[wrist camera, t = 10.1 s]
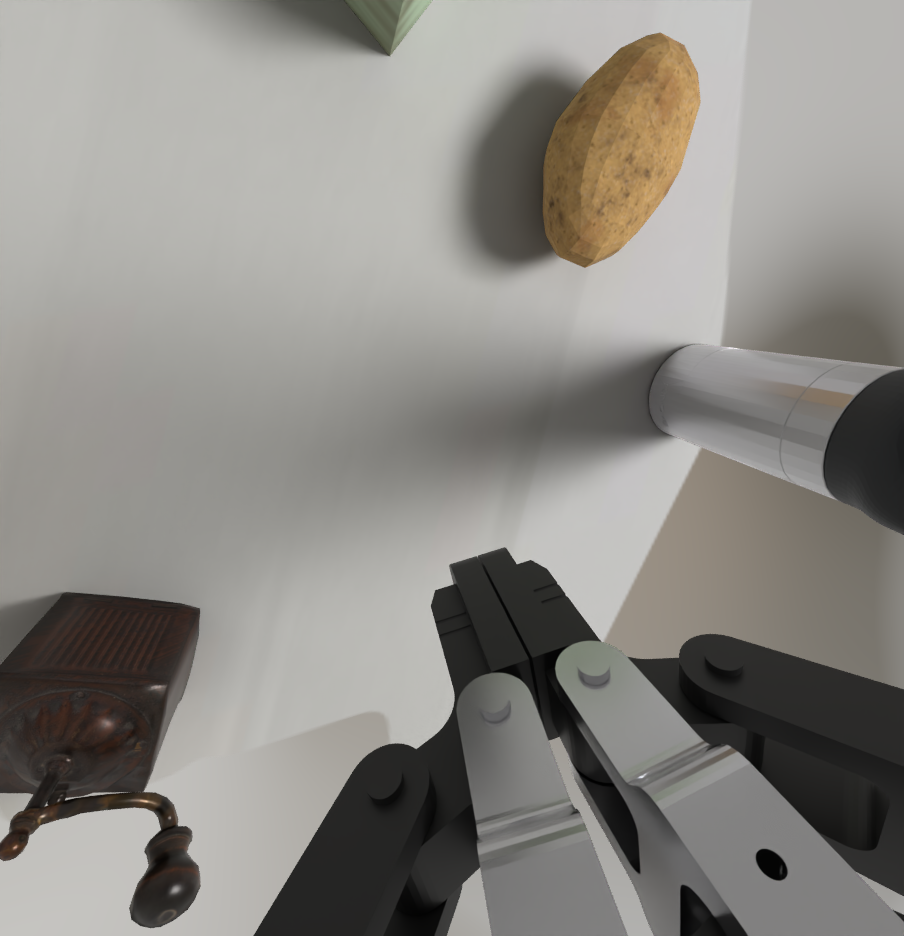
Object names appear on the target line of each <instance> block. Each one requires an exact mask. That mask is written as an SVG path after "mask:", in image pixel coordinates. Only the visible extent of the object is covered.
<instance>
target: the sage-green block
mask: <svg viewBox="0 0 904 936" xmlns="http://www.w3.org/2000/svg"><path fill="white" fill-rule="evenodd" d="M344 1H345V2H346V3H347V4H348V6H349V7H350V8H351V9H352V11H353V12H354V13H355V14H356V15H357V17H358V18H359V19H360V20H361V22H362V23H363V24H364V25H365V27H366V28H367V29H368V30H369V32H370V33H371V34H372V35H373V36H374V38H375V39H376V40H377V41H378V43H379V44H380V45H381V46H382V48H383V49H384V50H385V51H386V52H387V54H388V55H389V56H390V55H391V54H392V53H393V51H394V50H395V49H396V47H397V46H398V45H399V44H400V42H401V41H402V40H403V38H404V37H405V36H406V34H407V33H408V32H409V30H410V29H411V28H412V27H413V25H414V24H415V23H416V21H417V20H418V19H419V17H420V16H421V15H422V13H423V12H424V11H425V10H426V8H427V7H428V6H429V4H430V3H431V2H432V0H344Z"/></svg>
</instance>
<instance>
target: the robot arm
mask: <svg viewBox="0 0 904 936" xmlns="http://www.w3.org/2000/svg"><path fill="white" fill-rule="evenodd" d="M649 408H650V414H651V416H652V419H653V421H654V423H655V424H656V425H657V427H658V428H659V429H661V430H662V431H663V432H665V433H667V434H670V435H672V436H675V437H677V438H680V439H682V440H685V441H687V442H690V443H692V444H694V445H697V446H699V447H702V448H705V449H707V450H710V451H712V452H715V453H717V454H720V455H723V456H725V457H728V458H730V459H733V460H735V461H738V462H740V463H743V464H745V465H748V466H751V467H753V468H756V469H758V470H761V471H763V472H766V473H768V474H771V475H774V476H776V477H779V478H781V479H784V480H786V481H789V482H791V483H794V484H797V485H799V486H802V487H805V488H807V489H810V490H812V491H815V492H817V493H820V494H823V495H825V496H828V497H830V498H833V499H835V500H838V501H841V502H843V503H845V504H848V505H851V506H853V507H855V508H858V509H860V510H861V511H863V512H864V513H865V514H866V515H868V516H869V517H870V518H872V519H873V520H875V521H876V522H878V523H880V524H881V525H883V526H885V527H888V528H890V529H892V530H894V531H896V532H898V533H901V534H903V535H904V368H900V367H892V366H883V365H873V364H866V363H856V362H847V361H838V360H830V359H821V358H813V357H805V356H796V355H788V354H779V353H771V352H762V351H754V350H745V349H738V348H730V347H721V346H713V345H704V344H694V345H690V346H686V347H684V348H682V349H680V350H678V351H676V352H675V353H674V354H673V355H671V356H670V357H669V358H668V359H667V360H666V361H665V362H664V363H663V365H662V366H661V367H660V369H659V370H658V372H657V374H656V376H655V378H654V380H653V383H652V386H651V390H650V394H649ZM449 567H450V571H451V575H452V579H453V583H454V585H451V586H448V587H444V588H441V589H438V590H435V593H434V597H433V601H432V604H431V609H432V612H433V616H434V619H435V623H436V627H437V630H438V634H439V638H440V641H441V645H442V648H443V652H444V656H445V659H446V663H447V667H448V670H449V674H450V677H451V681H452V685H453V688H454V694H455V702H454V707H453V710H452V713H451V715H450V717H449V719H448V721H447V722H446V724H445V725H444V727H443V728H442V729H441V730H440V731H439V732H438V733H437V734H436V735H434V736H433V737H432V738H431V739H429V740H428V741H427V742H425V743H424V744H423V745H421V746H420V747H419V748H417V749H415V748H413V747H411V746H409V745H405V744H396V743H395V744H388V745H385V746H382V747H380V748H378V749H376V750H374V751H373V752H371V753H370V754H368V755H367V756H366V757H365V758H364V759H363V760H362V761H361V762H360V763H359V764H358V765H357V766H356V768H355V769H354V771H353V772H352V774H351V775H350V777H349V779H348V781H347V782H346V784H345V786H344V787H343V789H342V790H341V792H340V794H339V796H338V797H337V799H336V800H335V802H334V804H333V805H332V807H331V809H330V810H329V812H328V814H327V815H326V817H325V818H324V820H323V822H322V823H321V825H320V827H319V828H318V830H317V832H316V833H315V835H314V837H313V838H312V840H311V842H310V843H309V845H308V847H307V848H306V850H305V851H304V853H303V855H302V856H301V858H300V860H299V862H298V863H297V865H296V866H295V868H294V870H293V871H292V873H291V875H290V876H289V878H288V880H287V882H286V883H285V885H284V886H283V888H282V890H281V891H280V893H279V894H278V896H277V898H276V899H275V901H274V903H273V905H272V906H271V908H270V910H269V911H268V913H267V914H266V916H265V918H264V919H263V921H262V923H261V924H260V926H259V928H258V929H257V931H256V933H255V934H254V936H447V933H448V930H449V927H450V924H451V921H452V918H453V915H454V912H455V909H456V906H457V903H458V900H459V897H460V893H461V890H462V884H463V883H464V882H465V881H466V880H467V879H468V878H469V877H470V876H471V875H472V874H473V873H474V872H475V871H476V870H478V869H479V868H480V869H481V875H482V881H483V887H484V892H485V898H486V904H487V910H488V916H489V921H490V928H491V933H492V936H628V935H627V932H626V929H625V927H624V924H623V922H622V919H621V917H620V914H619V911H618V909H617V906H616V903H615V901H614V898H613V895H612V893H611V890H610V887H609V885H608V882H607V880H606V877H605V874H604V872H603V869H602V866H601V864H600V861H599V859H598V856H597V854H596V851H595V848H594V846H593V843H592V840H591V838H590V835H589V833H588V830H587V828H586V825H585V823H584V821H583V819H582V816H581V814H580V812H579V811H578V810H577V809H575V808H574V806H573V804H572V802H571V800H570V797H569V795H568V792H567V789H566V786H565V784H564V781H563V779H562V776H561V773H560V770H559V768H558V765H557V762H556V759H555V757H554V754H553V751H552V749H551V746H550V743H549V740H552V739H555V738H557V737H560V738H561V741H562V743H563V745H564V747H565V748H566V751H567V753H568V756H569V763H570V769H571V772H572V775H573V777H574V779H575V781H576V783H577V785H578V787H579V788H580V790H581V792H582V794H583V795H584V797H585V799H586V801H587V802H588V804H589V806H590V808H591V810H592V812H593V813H594V815H595V817H596V819H597V820H598V822H599V824H600V826H601V828H602V829H603V831H604V833H605V835H606V837H607V838H608V840H609V842H610V844H611V845H612V847H613V849H614V851H615V852H616V854H617V856H618V858H619V860H620V862H621V863H622V865H623V867H624V869H625V870H626V872H627V874H628V876H629V878H630V880H631V882H632V884H633V885H634V888H635V890H636V892H637V894H638V897H639V899H640V902H641V905H642V908H643V911H644V914H645V916H646V919H647V921H648V924H649V925H650V928H651V930H652V932H653V935H654V936H904V915H903V914H901V913H899V912H896V911H894V910H892V909H891V908H890V907H889V906H888V905H887V904H886V903H885V902H884V901H883V900H882V899H881V898H880V897H879V896H878V895H877V894H876V893H875V892H874V891H873V889H872V888H871V887H870V886H869V885H868V884H867V883H866V882H865V881H864V880H863V879H862V878H861V877H860V876H859V875H858V874H857V873H856V872H858V873H860V874H862V875H864V876H866V877H867V878H869V879H871V880H873V881H875V882H877V883H879V884H881V885H883V886H885V887H887V888H889V889H891V890H893V891H895V892H897V893H898V894H900V895H902V896H904V689H900V688H897V687H894V686H890V685H887V684H884V683H881V682H877V681H874V680H871V679H868V678H864V677H861V676H858V675H854V674H851V673H848V672H844V671H841V670H838V669H834V668H831V667H828V666H825V665H821V664H818V663H814V662H811V661H808V660H805V659H802V658H798V657H795V656H792V655H788V654H785V653H782V652H778V651H775V650H772V649H769V648H765V647H762V646H759V645H756V644H752V643H749V642H746V641H742V640H739V639H736V638H733V637H729V636H725V635H718V634H705V635H699V636H696V637H693V638H691V639H689V640H688V641H686V642H685V643H684V644H683V646H682V648H681V649H680V653H679V658H664V659H636V658H631V657H627V656H626V655H625V654H624V653H623V652H622V651H620V650H619V649H617V648H616V647H614V646H612V645H610V644H607V643H604V642H601V641H600V640H599V638H598V637H597V636H596V634H595V633H594V632H593V630H592V629H591V628H590V626H589V625H588V624H587V622H586V621H585V620H584V618H583V617H582V616H581V614H580V613H579V611H578V610H577V609H576V607H575V606H574V605H573V603H572V602H571V601H570V599H569V598H568V597H566V595H565V593H564V591H563V590H562V589H561V587H560V586H559V585H558V584H557V582H556V580H555V579H554V578H553V576H552V575H551V574H550V572H549V571H548V570H547V569H546V568H544V567H542V566H541V565H539V564H537V563H535V562H533V561H532V560H530V561H526V562H523V563H520V564H516V562H515V561H514V559H513V558H512V556H511V555H510V553H509V552H508V550H507V549H506V548H505V547H504V548H501V549H498V550H495V551H491V552H488V553H485V554H482V555H478V558H477V557H472V558H469V559H466V560H463V561H459V562H456V563H453V564H450V565H449ZM855 871H856V872H855Z"/></svg>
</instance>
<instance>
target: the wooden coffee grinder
mask: <svg viewBox="0 0 904 936" xmlns="http://www.w3.org/2000/svg"><path fill="white" fill-rule="evenodd" d="M199 618H200V608H196V607H192V606H188V605H185V604H181V603H173V602H165V601H157V600H148V599H139V598H130V597H119V596H106V595H93V594H80V593H67V592H66V593H64V594H62V596H61V597H60V599H59V600H58V601H57V602H56V603H55V604H54V606H53V607H52V608H51V609H50V610H49V611H48V612H47V613H46V614H45V615H44V617H43V618H42V619H41V620H40V621H39V622H38V623H37V624H36V625H35V627H34V628H33V629H32V630H31V631H30V632H29V633H28V634H27V635H26V637H25V638H24V639H23V640H22V641H21V642H20V643H19V645H18V646H17V647H16V648H15V649H14V650H13V651H12V652H11V654H10V655H9V656H8V657H7V658H6V659H5V660H4V662H3V663H2V664H1V665H0V793H30V794H34V795H33V796H32V798H31V800H30V801H29V803H28V805H27V806H26V808H25V809H24V811H21V812H18V813H17V814H16V815H15V816H13V818H12V820H11V823H10V828H9V834H8V835H7V836H6V837H5V838H4V839H3V840H2V841H1V843H0V859H1V860H3V861H7V860H11V859H14V858H16V857H17V856H18V855H19V854H20V853H21V852H22V851H23V850H24V848H25V846H26V845H27V843H28V839H29V835H30V834H33V833H34V832H35V830H36V829H37V828H38V827H39V826H40V825H42V824H46V823H49V822H52V821H56V820H59V819H63V818H68V817H71V816H74V815H77V814H80V813H87V812H94V811H101V810H111V809H122V808H133V807H136V808H146V809H148V810H150V811H153V812H154V813H155V814H156V815H157V817H158V819H159V823H160V827H161V830H160V831H159V832H158V833H157V834H156V835H155V836H154V837H153V838H152V839H151V840H150V841H149V843H148V844H147V846H146V848H145V853H146V855H147V859H148V864H149V866H148V869H147V871H146V873H145V874H144V876H143V877H142V878H141V880H140V881H139V883H138V885H137V887H136V890H135V893H134V895H133V898H132V901H131V905H130V908H129V909H130V914H131V919H132V920H133V921H134V922H136V923H137V924H138V925H140V926H143V927H148V928H155V927H161V926H163V925H165V924H167V923H169V922H171V921H173V920H175V919H176V918H177V917H179V916H180V915H181V914H183V913H184V912H185V911H186V910H188V908H189V907H190V905H191V904H192V903H193V901H194V900H195V898H196V895H197V893H198V890H199V889H200V873H199V867H198V865H197V864H196V863H195V862H194V861H193V860H192V859H191V857H190V856H189V855H188V853H187V850H188V846H189V844H190V842H191V841H192V831H191V829H189V828H188V827H186V826H184V827H183V826H178V817H177V814H176V810H175V807H174V805H173V804H172V803H171V801H170V800H169V799H168V798H167V797H164V796H162V795H160V794H157V793H150V792H143V791H144V790H145V788H146V786H147V784H148V781H149V779H150V776H151V774H152V771H153V767H154V765H155V762H156V759H157V757H158V754H159V751H160V749H161V746H162V743H163V740H164V738H165V735H166V732H167V729H168V727H169V724H170V721H171V719H172V717H173V715H174V712H175V710H176V708H177V705H178V703H179V702H180V701H181V699H182V697H183V694H184V691H185V688H186V685H187V682H188V679H189V675H190V671H191V667H192V663H193V659H194V655H195V650H196V645H197V640H198V635H199ZM95 792H128V793H116V794H105V795H96V796H88V797H81V798H74V799H70V800H66V801H65V798H69V797H79V796H85V795H88V794H90V793H95ZM47 801H48V802H47ZM46 803H47V804H48V805H49V806H46V807H45V805H46Z"/></svg>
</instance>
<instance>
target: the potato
mask: <svg viewBox="0 0 904 936" xmlns="http://www.w3.org/2000/svg"><path fill="white" fill-rule="evenodd" d="M699 106H700V92H699V82H698V73H697V71H696V68H695V66H694V64H693V62H692V60H691V58H690V56H689V54H688V52H687V50H686V48H685V46H684V45H683V44H681V43H679V42H677V41H675V40H673V39H671V38H670V37H668V36H666V35H664V34H662V33H657V34H652V35H648V36H645V37H643V38H641V39H639V40H637V41H635V42H633V43H631V44H628V45H626V46H624V47H622V48H620V49H619V50H618V51H617V52H616V53H615V54H614V55H613V56H612V57H611V58H610V59H609V60H608V61H607V62H606V63H605V64H604V65H603V66H602V67H601V68H600V69H598V70H597V71H596V72H595V73H594V74H593V75H592V76H591V77H590V78H589V79H588V80H587V81H586V82H585V84H584V85H583V86H582V88H581V89H580V90H579V92H578V93H577V94H576V96H575V97H574V98H573V100H572V101H571V102H570V104H569V105H568V106H567V108H566V109H565V110H564V112H563V113H562V115H561V116H560V117H559V119H558V120H557V121H556V124H555V127H554V129H553V132H552V135H551V138H550V141H549V144H548V147H547V150H546V155H545V160H544V165H543V219H544V226H545V234H546V236H547V238H548V240H549V242H550V244H551V245H552V247H553V249H554V251H555V253H556V254H557V255H558V256H559V257H561V258H563V259H566V260H568V261H570V262H573V263H575V264H577V265H580V266H582V267H585V268H586V267H588V266H590V265H592V264H595V263H597V262H599V261H601V260H604V259H606V258H608V257H610V256H612V255H614V254H615V253H616V252H618V251H619V250H620V249H621V248H622V247H623V246H624V245H625V244H626V243H627V242H628V241H629V240H630V239H631V238H632V237H633V236H634V235H635V234H636V233H637V232H638V231H639V230H640V228H641V227H642V226H643V225H644V223H645V222H646V221H647V220H648V218H649V217H650V216H651V215H652V214H653V212H654V211H655V209H656V208H657V207H658V205H659V204H660V203H661V201H662V200H663V198H664V197H665V196H666V194H667V193H668V191H669V189H670V187H671V185H672V184H673V182H674V180H675V178H676V176H677V175H678V173H679V171H680V169H681V166H682V163H683V159H684V156H685V152H686V149H687V146H688V142H689V139H690V136H691V132H692V129H693V126H694V122H695V119H696V116H697V112H698V109H699Z"/></svg>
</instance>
